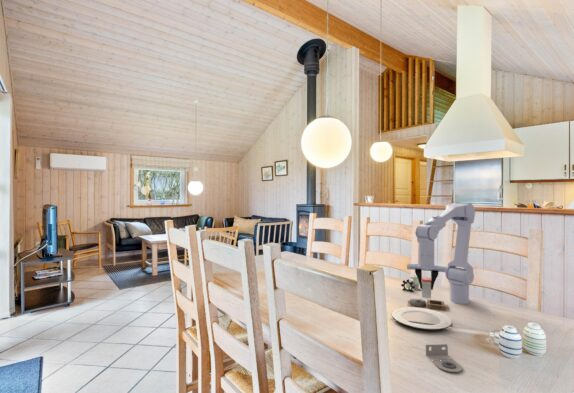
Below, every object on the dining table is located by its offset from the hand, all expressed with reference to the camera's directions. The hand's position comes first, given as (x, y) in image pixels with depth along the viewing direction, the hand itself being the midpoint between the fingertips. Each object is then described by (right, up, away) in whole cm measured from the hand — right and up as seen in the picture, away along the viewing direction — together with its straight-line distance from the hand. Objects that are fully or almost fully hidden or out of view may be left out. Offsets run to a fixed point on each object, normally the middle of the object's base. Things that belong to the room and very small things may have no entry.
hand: (426, 288), depth 124 cm
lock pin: (0, -3, 0) cm, 3 cm away
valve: (+7, -11, +32) cm, 34 cm away
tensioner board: (+4, -10, +7) cm, 13 cm away
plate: (-5, -11, -7) cm, 14 cm away
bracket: (-11, -11, -36) cm, 39 cm away
